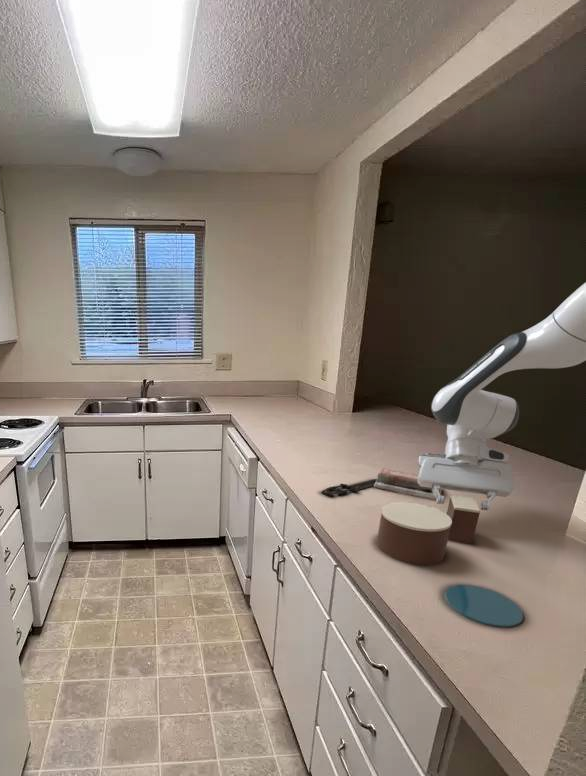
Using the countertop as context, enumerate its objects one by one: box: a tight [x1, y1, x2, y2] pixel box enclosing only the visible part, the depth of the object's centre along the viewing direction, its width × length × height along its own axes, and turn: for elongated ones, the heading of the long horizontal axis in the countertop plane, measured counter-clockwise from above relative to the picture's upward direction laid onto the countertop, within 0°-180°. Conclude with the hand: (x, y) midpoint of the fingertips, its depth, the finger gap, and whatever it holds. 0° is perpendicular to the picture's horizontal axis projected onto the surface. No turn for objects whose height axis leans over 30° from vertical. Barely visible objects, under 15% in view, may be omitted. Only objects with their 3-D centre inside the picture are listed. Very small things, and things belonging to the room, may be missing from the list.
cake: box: [376, 501, 452, 566], centre depth 99 cm, size 14×14×9 cm
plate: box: [444, 584, 524, 628], centre depth 80 cm, size 12×12×1 cm
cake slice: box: [446, 494, 481, 545], centre depth 105 cm, size 5×8×9 cm, turn 156°
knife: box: [320, 478, 377, 498], centre depth 135 cm, size 25×6×1 cm, turn 112°
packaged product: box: [373, 468, 443, 501], centre depth 133 cm, size 18×5×10 cm
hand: (462, 506), depth 106 cm, fingers open, 8 cm apart
